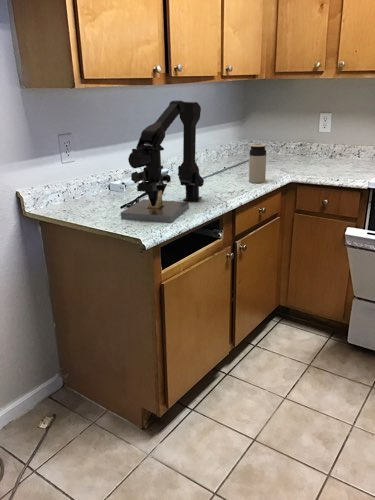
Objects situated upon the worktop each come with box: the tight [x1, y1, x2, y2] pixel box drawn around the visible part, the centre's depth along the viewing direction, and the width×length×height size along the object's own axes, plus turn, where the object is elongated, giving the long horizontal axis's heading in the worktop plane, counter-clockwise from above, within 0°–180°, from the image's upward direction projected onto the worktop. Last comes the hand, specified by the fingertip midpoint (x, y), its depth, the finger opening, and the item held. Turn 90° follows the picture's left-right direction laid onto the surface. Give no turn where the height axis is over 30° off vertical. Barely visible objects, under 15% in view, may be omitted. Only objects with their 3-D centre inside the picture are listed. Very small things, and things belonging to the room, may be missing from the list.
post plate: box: [120, 198, 190, 224], centre depth 171 cm, size 20×20×2 cm
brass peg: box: [147, 190, 163, 210], centre depth 170 cm, size 4×4×9 cm
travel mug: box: [248, 143, 267, 184], centre depth 214 cm, size 8×8×18 cm
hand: (155, 204), depth 170 cm, fingers closed on brass peg, 4 cm apart
